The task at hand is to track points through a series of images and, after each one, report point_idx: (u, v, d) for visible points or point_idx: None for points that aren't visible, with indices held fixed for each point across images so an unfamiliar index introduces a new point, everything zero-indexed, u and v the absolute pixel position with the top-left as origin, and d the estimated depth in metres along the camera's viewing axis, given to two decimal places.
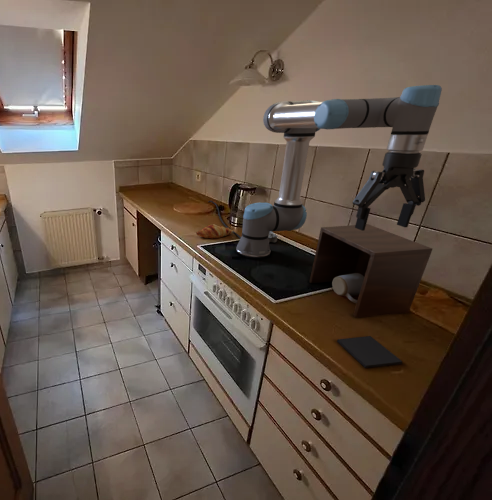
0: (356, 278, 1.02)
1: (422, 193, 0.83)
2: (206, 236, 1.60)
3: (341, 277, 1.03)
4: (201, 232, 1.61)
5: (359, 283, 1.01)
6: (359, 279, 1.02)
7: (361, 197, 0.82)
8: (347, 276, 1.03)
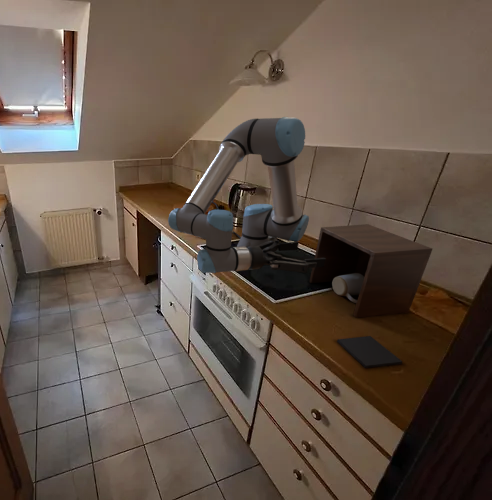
0: (356, 278, 1.02)
1: None
2: None
3: (341, 277, 1.03)
4: None
5: (359, 283, 1.01)
6: (359, 279, 1.02)
7: None
8: (347, 276, 1.03)
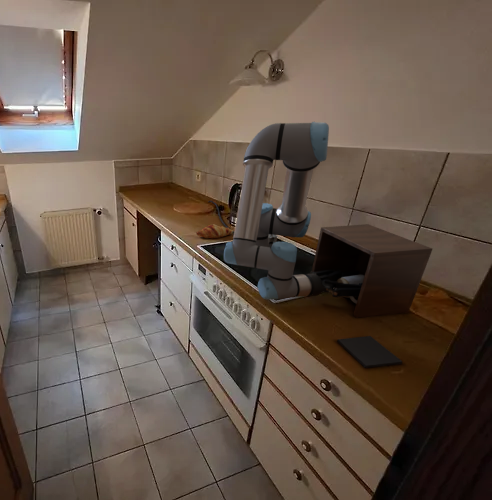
0: (360, 280, 1.01)
1: None
2: (206, 236, 1.60)
3: (344, 278, 1.02)
4: (201, 232, 1.61)
5: None
6: None
7: None
8: (351, 277, 1.02)
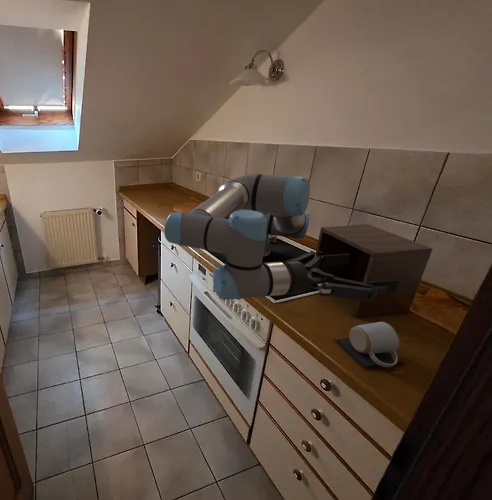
0: (383, 331, 0.75)
1: None
2: None
3: (362, 328, 0.77)
4: None
5: (387, 338, 0.74)
6: (387, 333, 0.75)
7: None
8: (370, 327, 0.76)
